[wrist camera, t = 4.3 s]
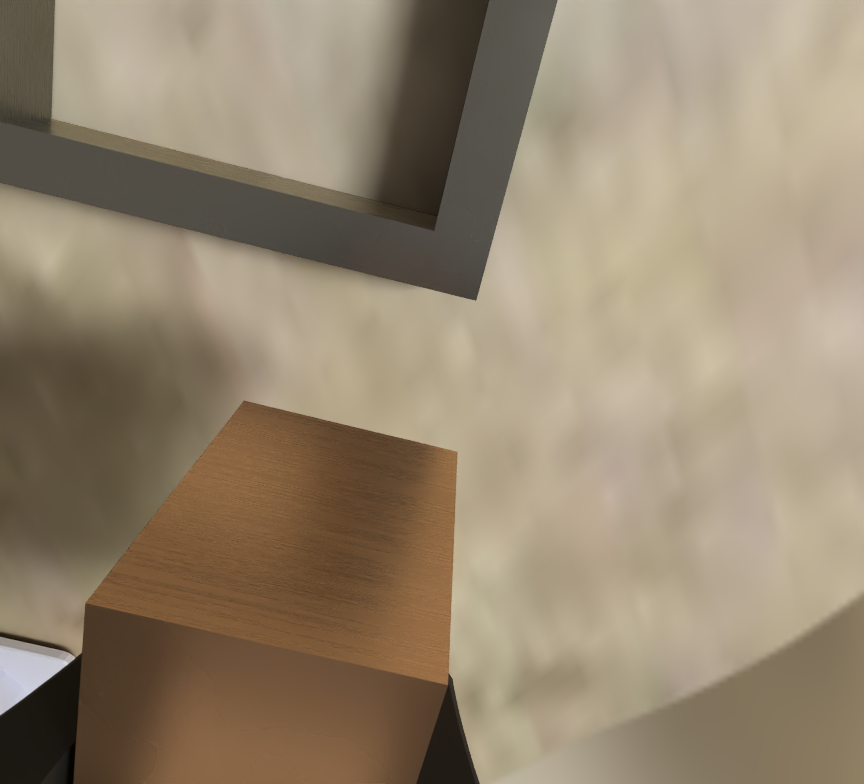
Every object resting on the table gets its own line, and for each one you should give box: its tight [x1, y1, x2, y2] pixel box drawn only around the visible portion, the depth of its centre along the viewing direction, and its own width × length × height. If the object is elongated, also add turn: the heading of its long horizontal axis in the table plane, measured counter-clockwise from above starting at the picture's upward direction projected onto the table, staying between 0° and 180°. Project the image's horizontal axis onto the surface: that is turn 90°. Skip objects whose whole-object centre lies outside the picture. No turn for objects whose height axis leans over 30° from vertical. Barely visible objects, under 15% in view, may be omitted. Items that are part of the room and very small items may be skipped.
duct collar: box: [0, 0, 557, 300], centre depth 14 cm, size 8×11×2 cm
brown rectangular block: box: [73, 401, 457, 784], centre depth 10 cm, size 7×4×5 cm, turn 167°
